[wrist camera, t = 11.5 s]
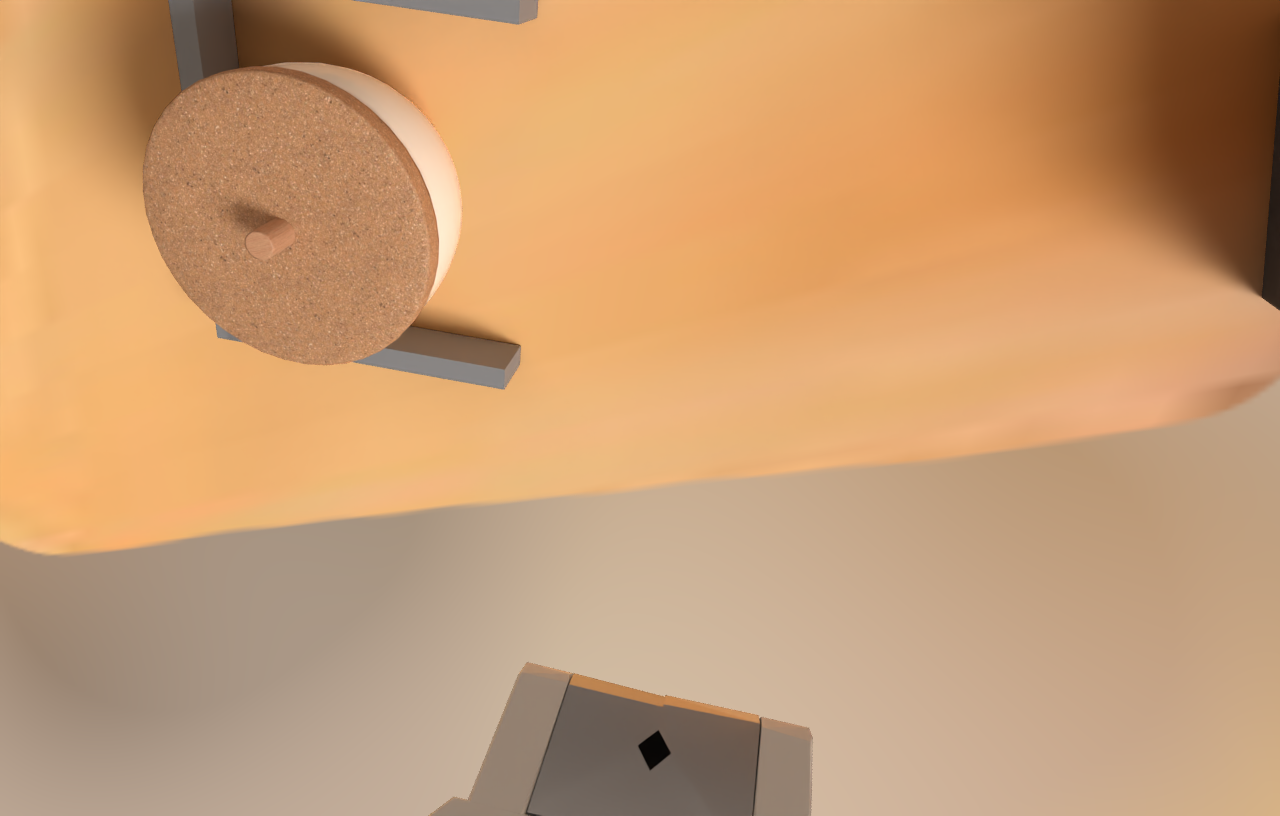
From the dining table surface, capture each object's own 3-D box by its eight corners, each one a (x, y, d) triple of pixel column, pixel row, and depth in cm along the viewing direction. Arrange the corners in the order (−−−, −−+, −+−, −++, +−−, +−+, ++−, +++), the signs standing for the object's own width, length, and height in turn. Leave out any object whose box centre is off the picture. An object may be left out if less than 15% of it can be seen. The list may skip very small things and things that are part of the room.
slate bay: (538, -11, 32) (519, -7, 30) (519, 364, 41) (504, 389, 38) (201, -60, 34) (159, -58, 31) (247, 315, 42) (217, 337, 39)
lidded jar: (215, 75, 36) (47, 119, 28) (447, 11, 33) (335, 40, 25) (318, 309, 41) (199, 405, 33) (528, 270, 38) (455, 364, 30)
